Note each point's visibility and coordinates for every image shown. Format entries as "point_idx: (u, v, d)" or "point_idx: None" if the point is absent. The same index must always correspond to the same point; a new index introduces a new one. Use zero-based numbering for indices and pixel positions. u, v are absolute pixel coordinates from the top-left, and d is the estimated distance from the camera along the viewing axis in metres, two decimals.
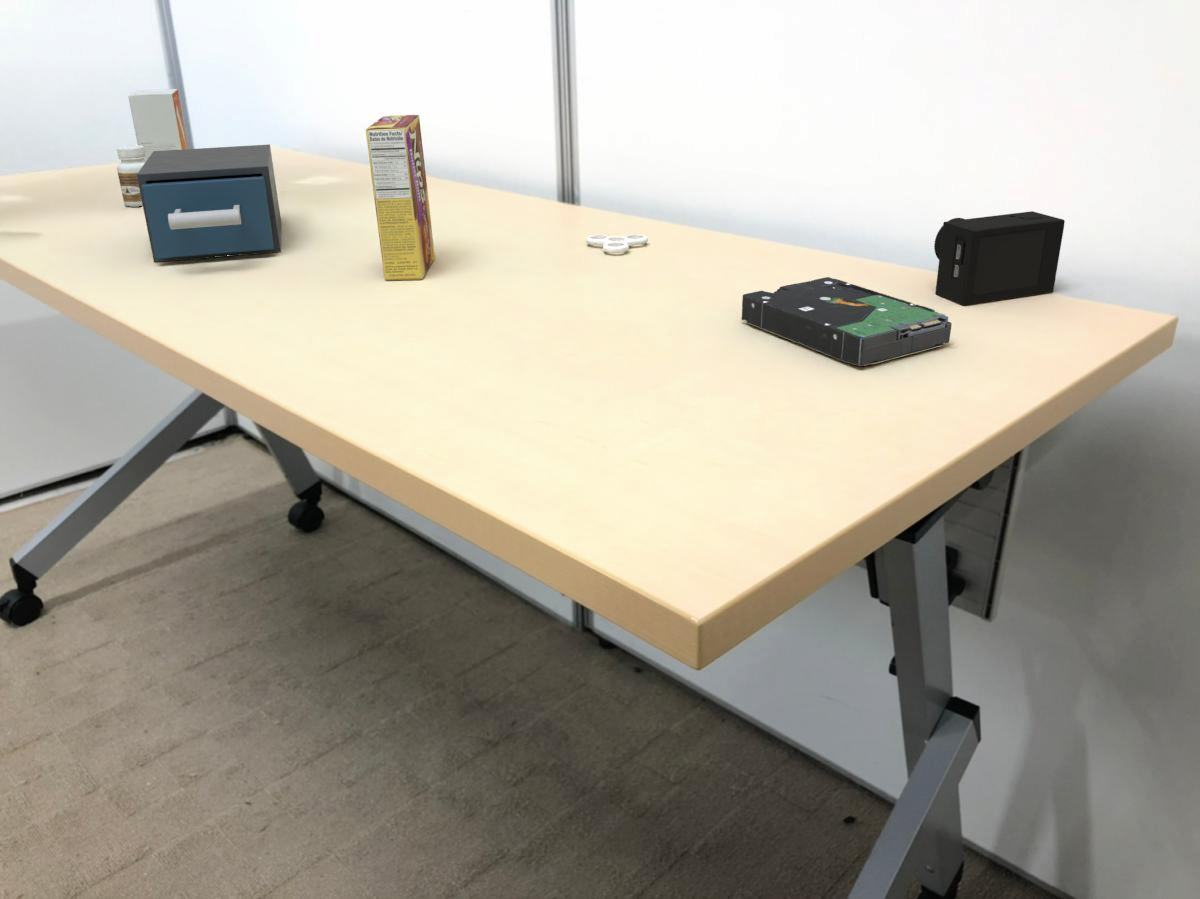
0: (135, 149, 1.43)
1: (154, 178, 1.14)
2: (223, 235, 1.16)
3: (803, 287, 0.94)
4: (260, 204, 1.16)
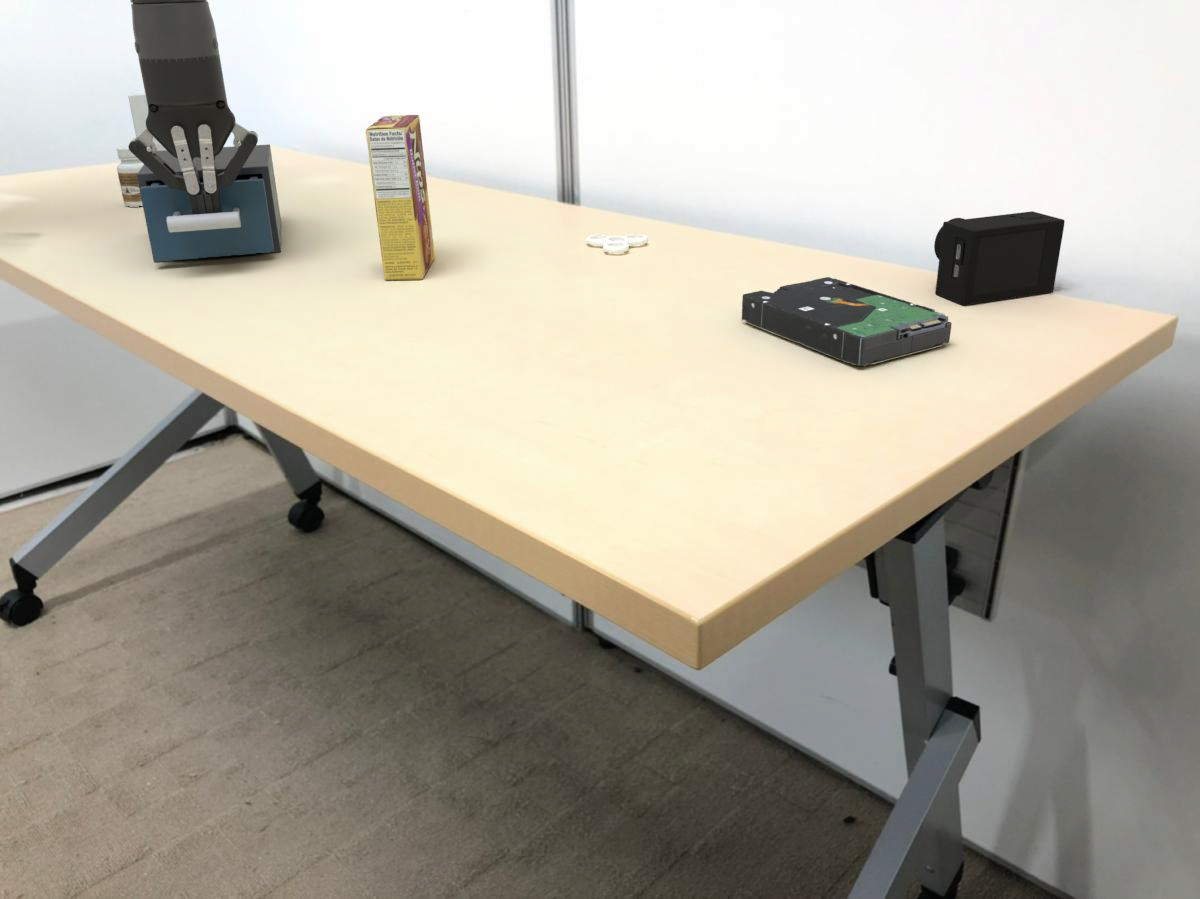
0: None
1: (154, 178, 1.14)
2: (222, 238, 1.15)
3: (803, 287, 0.94)
4: (260, 206, 1.15)
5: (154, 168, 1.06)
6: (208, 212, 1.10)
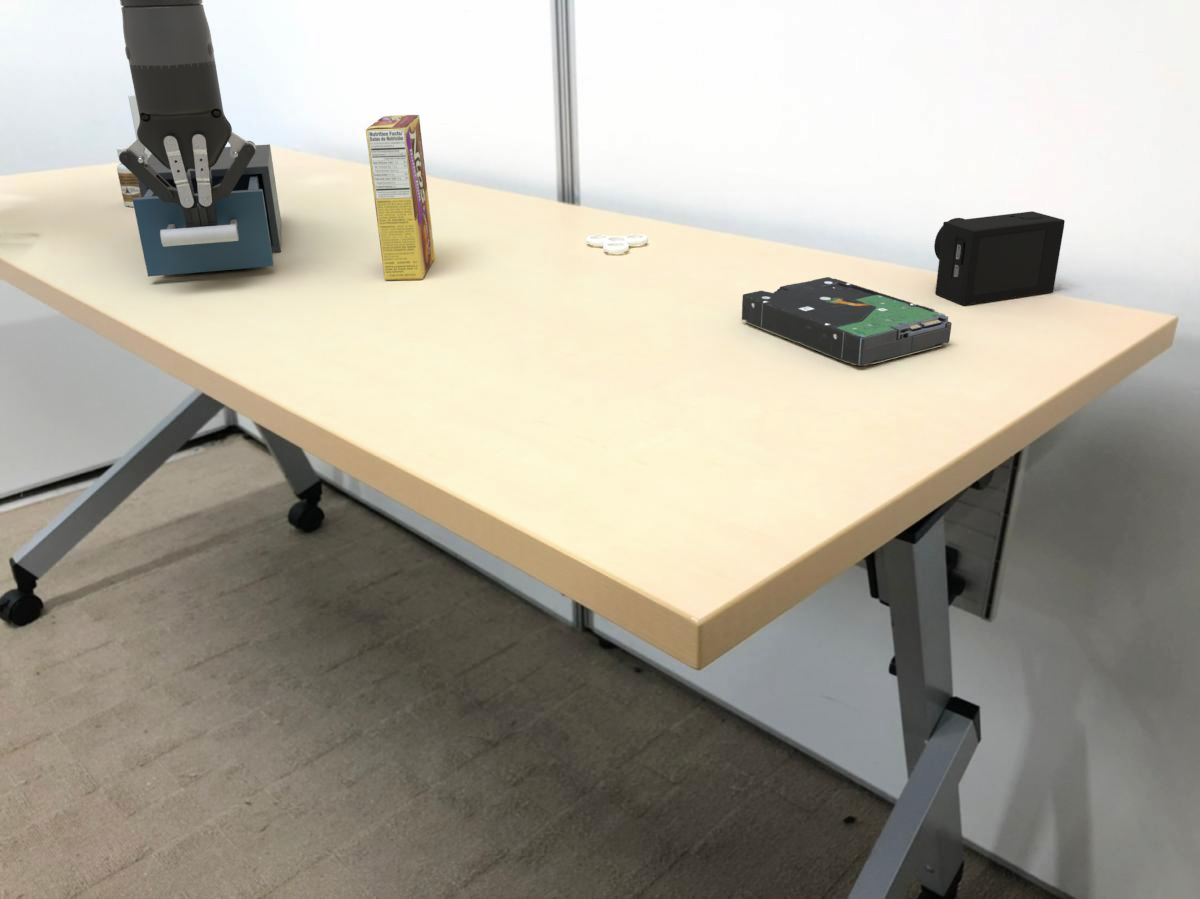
0: None
1: None
2: (219, 251, 1.09)
3: (803, 287, 0.94)
4: (258, 218, 1.09)
5: (146, 180, 1.01)
6: (203, 226, 1.04)
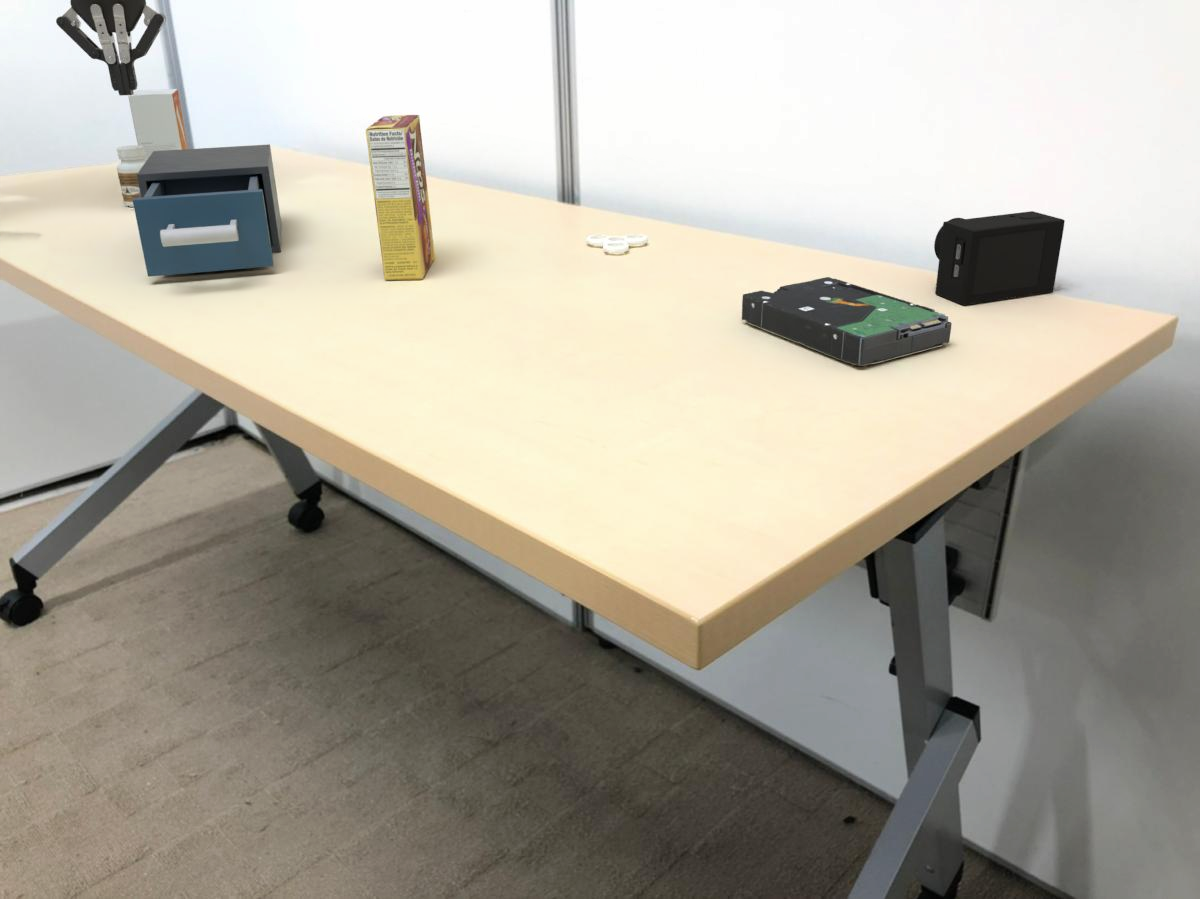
0: (135, 149, 1.43)
1: (154, 178, 1.14)
2: (219, 252, 1.09)
3: (803, 287, 0.94)
4: (258, 218, 1.09)
5: (77, 40, 1.30)
6: (123, 80, 1.33)
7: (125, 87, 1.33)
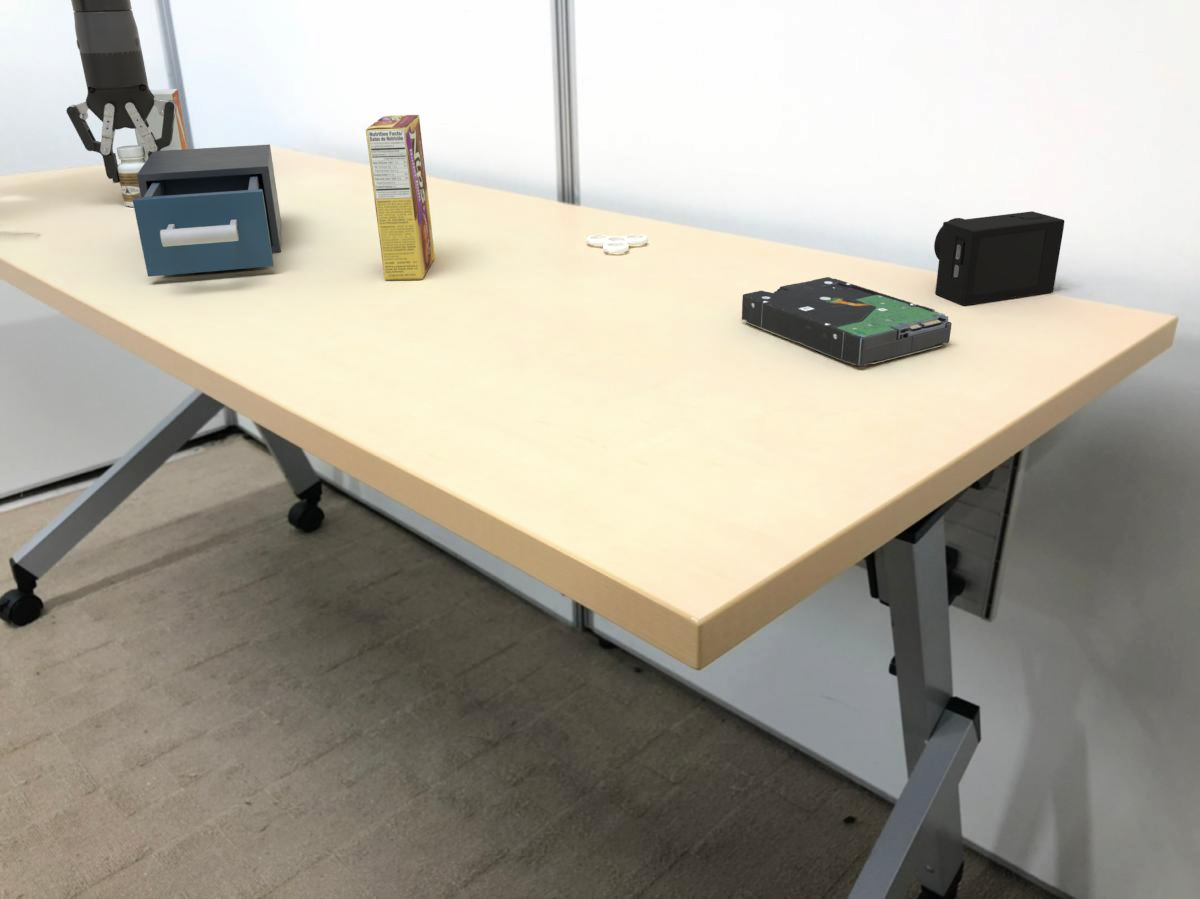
0: (135, 149, 1.43)
1: (154, 178, 1.14)
2: (219, 252, 1.09)
3: (803, 287, 0.94)
4: (258, 218, 1.09)
5: (79, 130, 1.41)
6: None
7: None
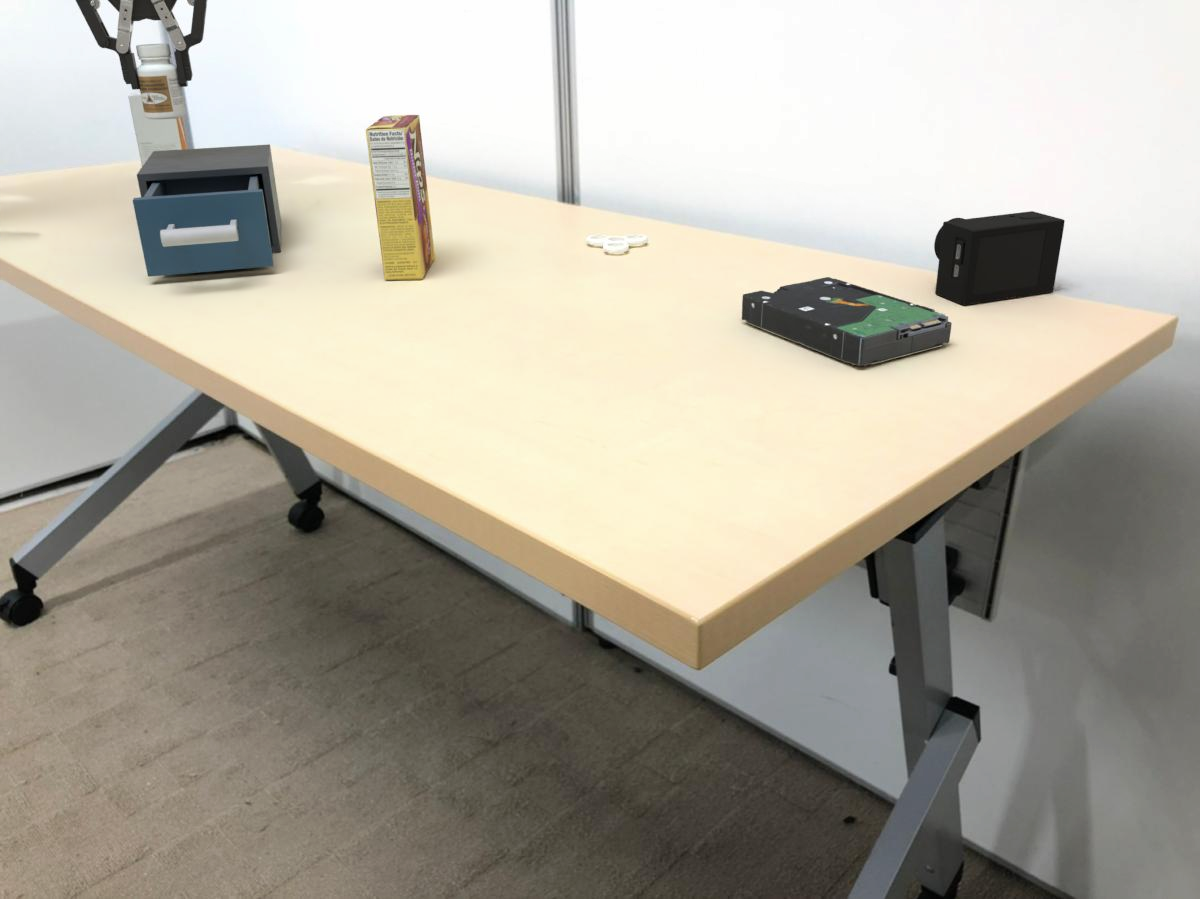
0: (159, 46, 1.16)
1: (154, 178, 1.14)
2: (219, 252, 1.09)
3: (803, 287, 0.94)
4: (258, 218, 1.09)
5: (90, 22, 1.14)
6: (178, 69, 1.18)
7: (180, 78, 1.18)
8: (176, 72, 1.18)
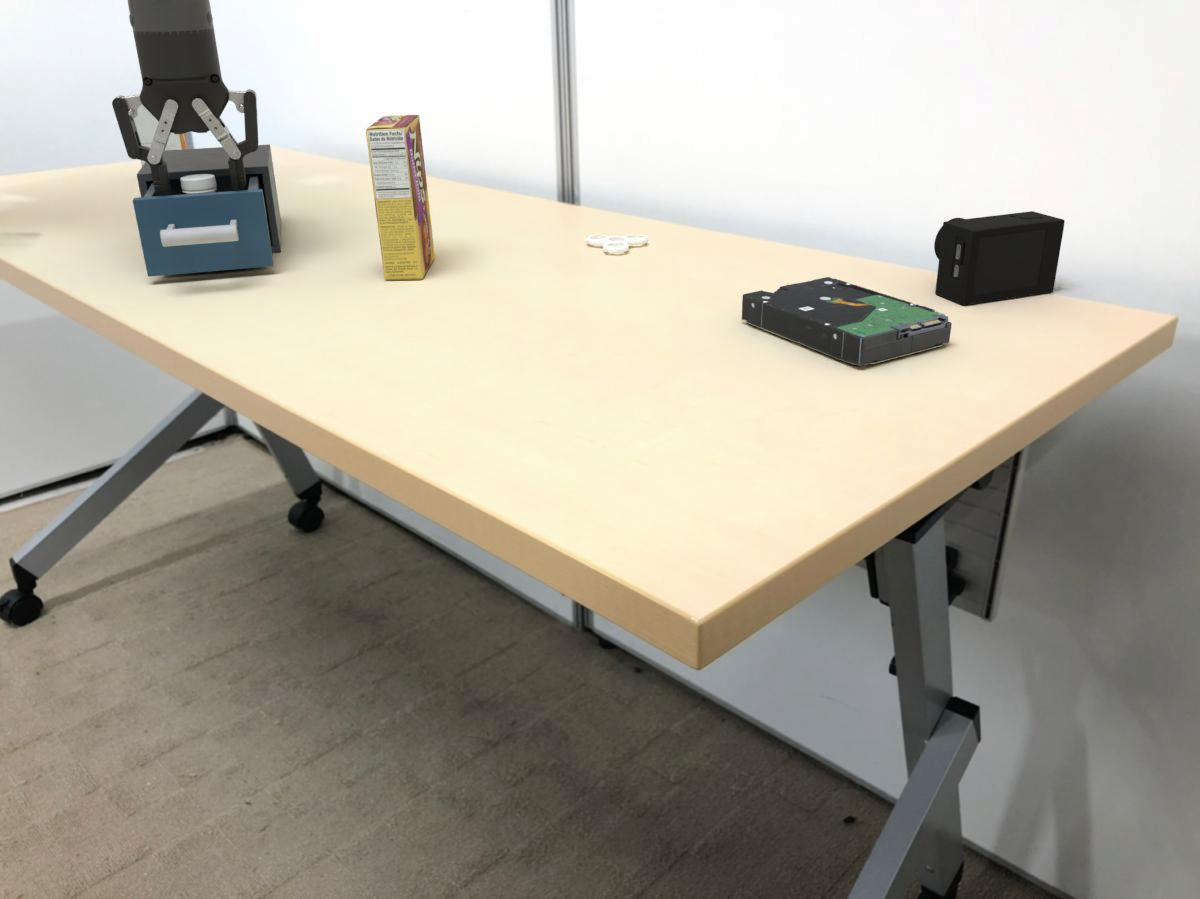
0: (205, 179, 1.09)
1: None
2: (219, 252, 1.09)
3: (803, 287, 0.94)
4: (258, 218, 1.09)
5: (124, 131, 1.06)
6: (232, 178, 1.10)
7: (234, 187, 1.11)
8: None
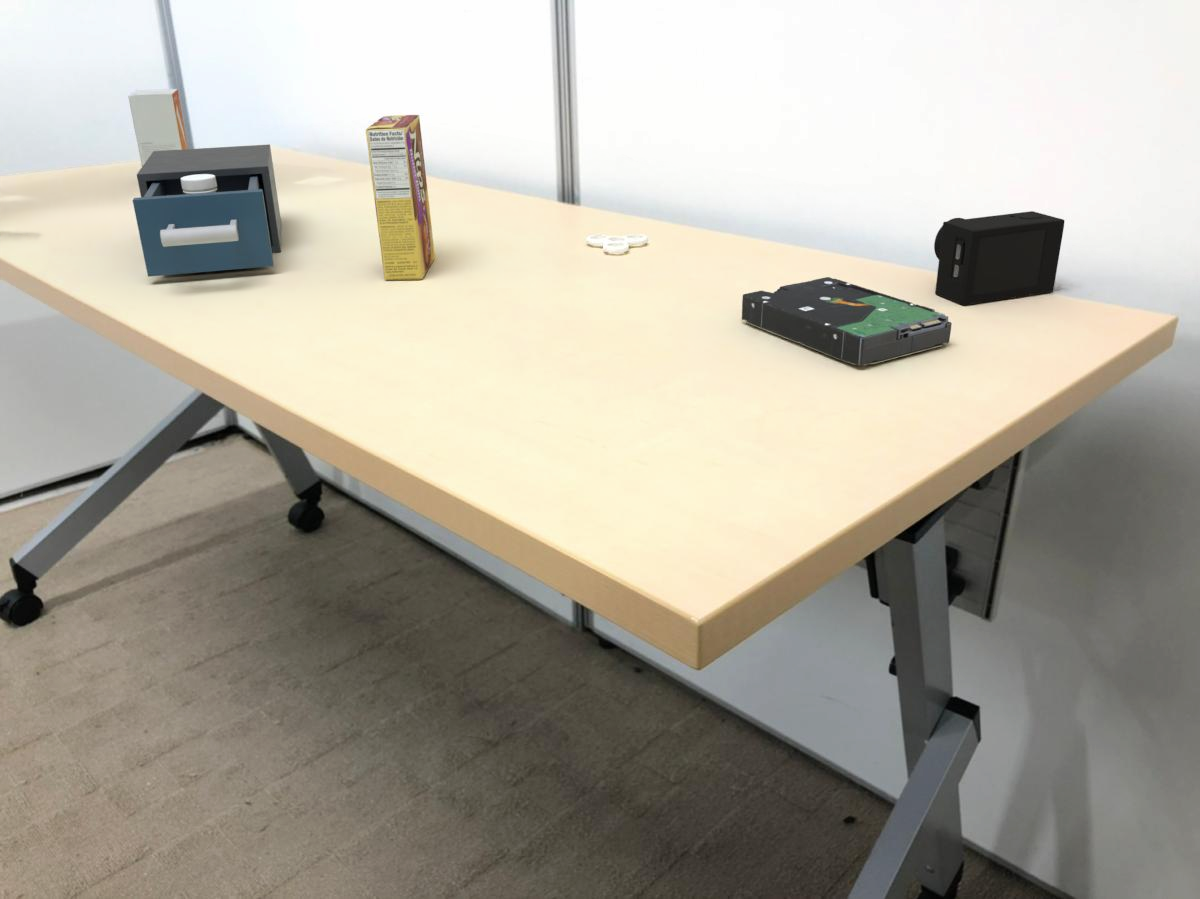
0: (205, 180, 1.09)
1: (154, 178, 1.14)
2: (219, 252, 1.09)
3: (803, 287, 0.94)
4: (258, 218, 1.09)
5: None
6: None
7: None
8: None
